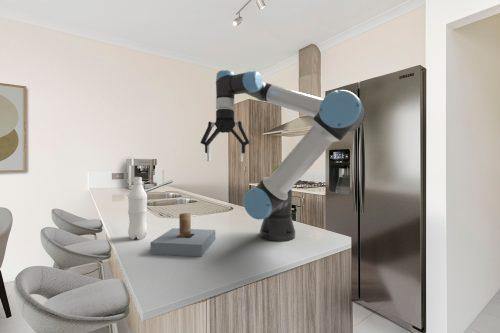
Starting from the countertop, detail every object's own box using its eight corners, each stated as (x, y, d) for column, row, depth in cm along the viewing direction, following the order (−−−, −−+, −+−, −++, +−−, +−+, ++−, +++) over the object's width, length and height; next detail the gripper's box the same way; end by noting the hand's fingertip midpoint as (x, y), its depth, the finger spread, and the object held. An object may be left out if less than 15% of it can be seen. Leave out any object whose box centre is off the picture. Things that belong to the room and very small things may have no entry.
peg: (192, 244, 96) (192, 213, 95) (188, 248, 92) (188, 215, 91) (182, 244, 96) (182, 213, 96) (177, 247, 92) (177, 215, 92)
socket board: (215, 239, 102) (215, 229, 102) (201, 256, 84) (201, 244, 84) (172, 237, 104) (172, 228, 104) (150, 253, 86) (150, 242, 86)
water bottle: (140, 241, 99) (140, 178, 99) (124, 240, 101) (123, 177, 100) (150, 235, 106) (150, 176, 106) (135, 234, 108) (135, 176, 107)
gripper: (256, 111, 107) (255, 161, 107) (198, 112, 109) (198, 161, 110) (254, 107, 99) (253, 161, 100) (192, 108, 102) (192, 161, 102)
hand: (224, 161), depth 105 cm, fingers open, 13 cm apart
